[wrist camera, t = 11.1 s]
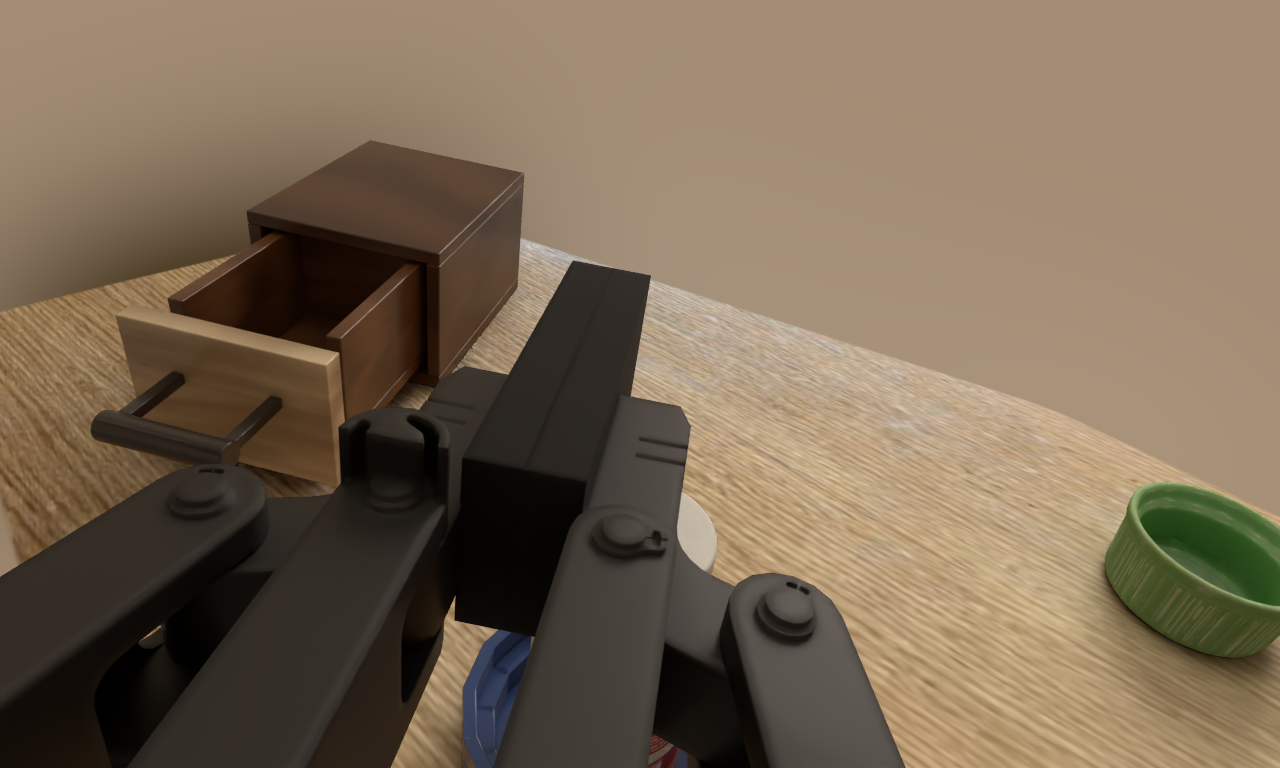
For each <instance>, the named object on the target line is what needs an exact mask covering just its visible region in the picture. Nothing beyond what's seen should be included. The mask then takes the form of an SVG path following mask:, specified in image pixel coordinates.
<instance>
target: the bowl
mask: <svg viewBox="0 0 1280 768" xmlns="http://www.w3.org/2000/svg"><path fill="white" fill-rule="evenodd" d="M531 637H532V636H527V635H522V634H517V633H513V632H508V631H503V630H498V631H497V632H496V633H495V634H493V635H492V636H491V637H490V638H489V639H488V640H487V641H486V642H485V643H484V644H483V645H482V648H481V650H480V652H479V654H478V656H477V658H476V661H475V663H474V665H473V667H472V669H471V671H470V674H469V676H468V678H467V680H466V682H465V684H464V687H463V695H462V768H493V765H494V762H495V759H496V756H497V753H498V750H499V747H500V744H501V741H502V737H503V734H504V731H505V728H506V725H507V722H508V719H509V716H510V712H511V709H512V706H513V703H514V700H515V697H516V694H517V691H518V688H519V684H520V681H521V678H522V675H523V672H524V669H525V666H526V663H527V659H528V656H529V653H530V648H531ZM672 768H688V764H687V752H685V751H683V750H681V749H679V752H678V755H677V758H676V761H675V763H674V765H673V767H672Z"/></svg>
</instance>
